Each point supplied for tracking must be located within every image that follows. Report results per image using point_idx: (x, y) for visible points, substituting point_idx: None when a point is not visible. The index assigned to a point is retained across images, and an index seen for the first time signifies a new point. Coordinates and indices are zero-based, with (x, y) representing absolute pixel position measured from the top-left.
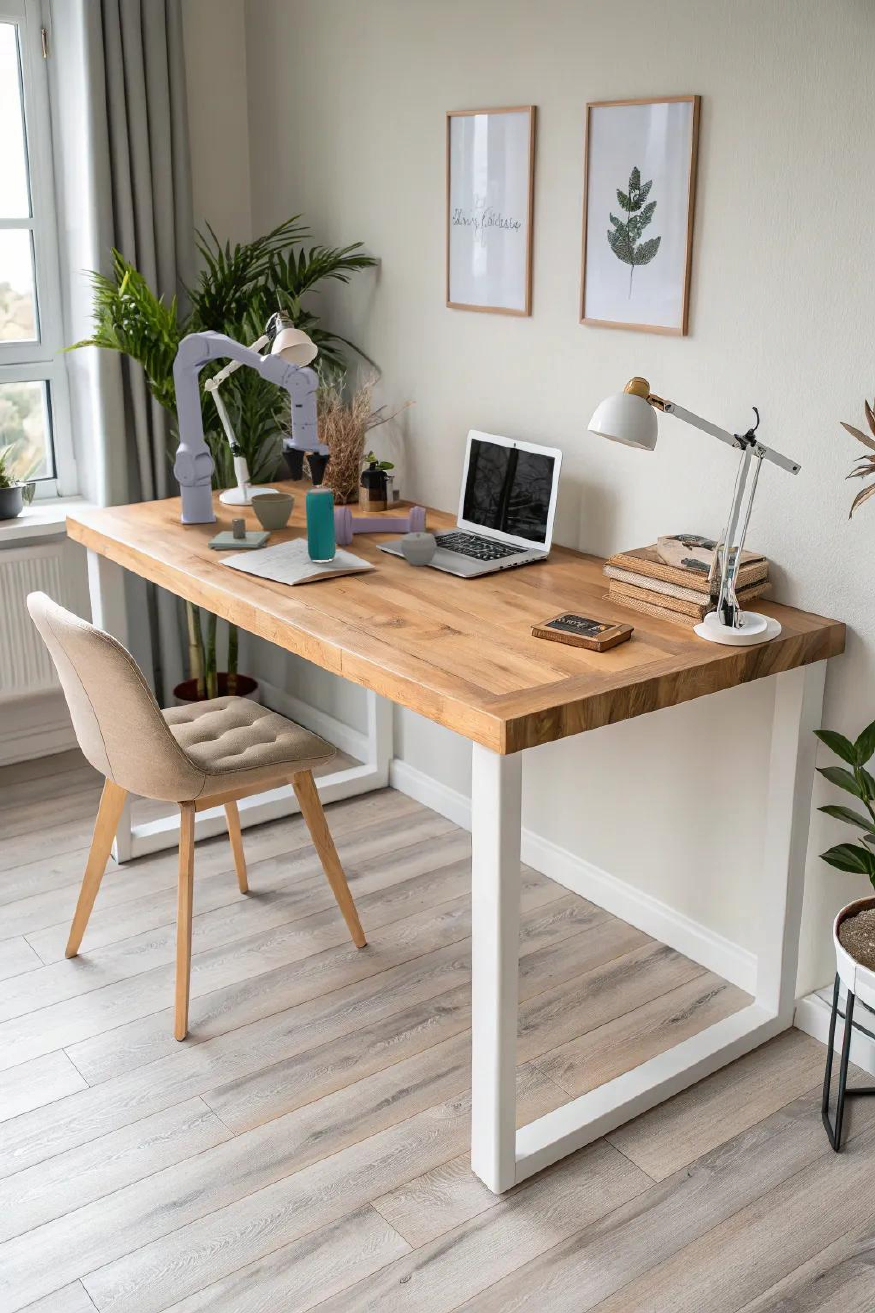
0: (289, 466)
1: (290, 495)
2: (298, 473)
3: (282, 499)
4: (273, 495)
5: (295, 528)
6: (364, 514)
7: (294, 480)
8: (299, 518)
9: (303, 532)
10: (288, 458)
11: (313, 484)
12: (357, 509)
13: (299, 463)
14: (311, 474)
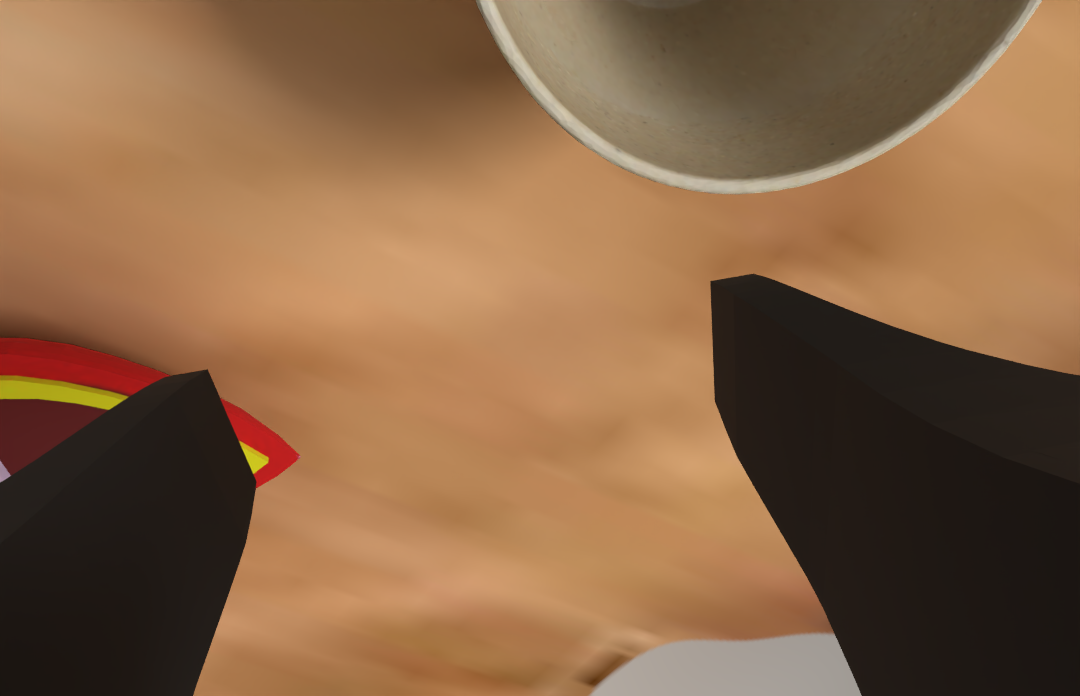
0: (901, 347)
1: (747, 175)
2: (756, 418)
3: (854, 107)
4: (982, 25)
5: (490, 45)
6: (575, 613)
7: (714, 281)
8: (787, 250)
9: (297, 29)
10: (995, 438)
11: (188, 375)
12: (718, 629)
13: (844, 579)
14: (93, 456)
